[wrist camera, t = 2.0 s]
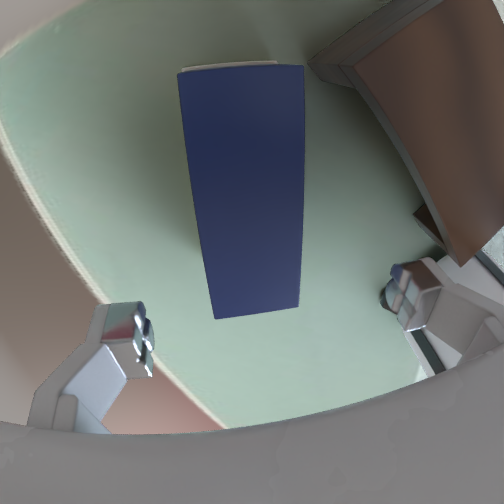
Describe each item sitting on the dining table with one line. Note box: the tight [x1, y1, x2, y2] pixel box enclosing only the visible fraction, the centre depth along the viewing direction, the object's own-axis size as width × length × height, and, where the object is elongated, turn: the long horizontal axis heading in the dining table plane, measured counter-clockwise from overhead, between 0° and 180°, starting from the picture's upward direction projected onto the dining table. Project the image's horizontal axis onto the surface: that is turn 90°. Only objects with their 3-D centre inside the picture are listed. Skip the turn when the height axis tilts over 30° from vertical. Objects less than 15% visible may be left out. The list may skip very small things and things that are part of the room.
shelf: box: [308, 0, 504, 268], centre depth 15 cm, size 11×16×6 cm
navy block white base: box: [177, 60, 305, 319], centre depth 16 cm, size 13×5×6 cm, turn 3°
